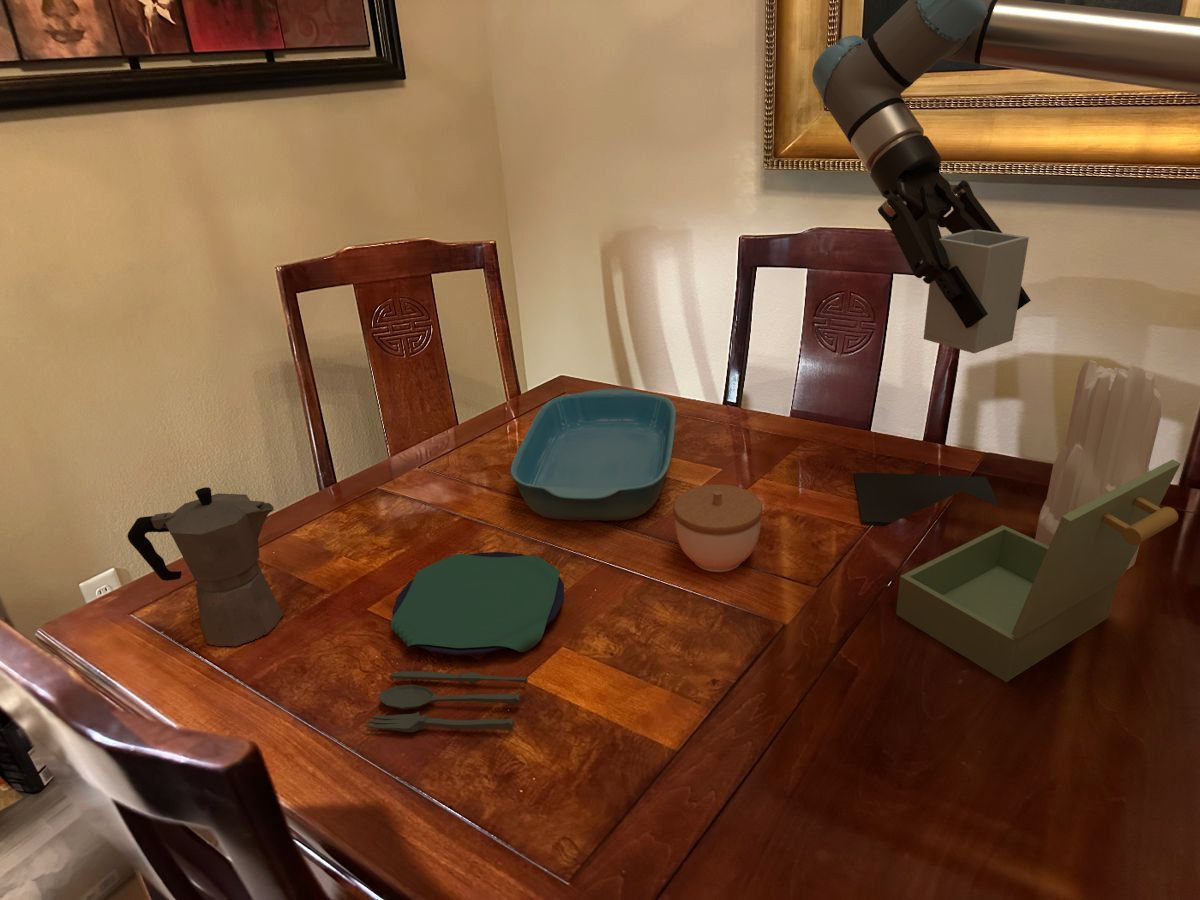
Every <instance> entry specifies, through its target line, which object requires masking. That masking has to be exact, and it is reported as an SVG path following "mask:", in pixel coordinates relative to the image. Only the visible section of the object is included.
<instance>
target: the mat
mask: <svg viewBox="0 0 1200 900" xmlns="http://www.w3.org/2000/svg"><path fill="white" fill-rule="evenodd" d="M853 480H854V487H855V493H856V499H857V500H856V501H857V506H858V513H859V521H860V524H861V525H862V526H880V527H881V526H884V527H886V526H888V525H890V524H893V523H895V522H897V521H899V520H902V519H904V518H906V517H908V516H911V515H913V514H915V513H917V512H920V511H922V510H924V509H927V508H928V507H930V506H933V505H935V504H937V503H939V502H942V501H944V500H946V499H948V498H950V497H953V496H955V495H957V494H959V493H961V492H963V493H966V494H968V495H970V496H972V497H975V498H978V499H980V500H982V501H983V502H987V503H988V504H990V505H993V506H996V507H997V508H1001V505H1000V504H999V501H998V500H997V497H996V494H995V492H994V491H993V488H992V487H991V484H990V482H989V479H988V477H987V476H976V475H975V476H973V475H972V476H971V475H950V474H949V475H947V474H945V475H944V474H919V473H915V474H913V473H892V472H891V473H890V472H889V473H886V472H861V471H860V472H859V471H854V472H853Z"/></svg>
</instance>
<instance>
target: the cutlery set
mask: <svg viewBox="0 0 1200 900" xmlns="http://www.w3.org/2000/svg"><path fill="white" fill-rule="evenodd" d="M560 576H561V571H560V569H558V568H557V567H555V566H554V565H552V564H551V563H549V562H548V561H546V560H545V559H543V558H541V557H540V556H538V555H533V554H527V555H526V554H523V553H518V552H517V553H516V552H507V551H488V552H475V553H470V554H465V553H456V554H453V555H451V556H448V557H445V558H443V559H439V560H438V561H436V562H433V563H431V564H429V565H427V566H426V567H423V568H421V569H418V570H417V572H416V574H415V575H414V577H413V578H412V579H411V580H410V581H408V582H407V584H406V585H405V586H404V587H403V589H402V590H401V591H400V592H399V594H397V596H396V599H395V602H394V606H393V608H392V612H391V613H392V619H391V621H390V628H391V631H392V632H393V633H394V634H395V635H396V636H398V637H399V639H400V640H401V641H402V642H403V643H404V644H405V646H407V648H410V647H411V646H414V647H415V646H416V647H418V648H420V649H422V650H425V651H426V652H429V653H433V654H442V655H449V656H455V657H458V656H459V657H460V656H461V657H462V656H472V655H487V654H490V653H493V652H497V651H502V650H504V649H505V650H506V649H508V648H509V649H512V650H514V651H517V652H519V653H527V652H528V651H530V650H531V649H533V648H534V647H536V646H537V645H538V643H539V642H540V641H541V640H542V638H543V635H544V633H545V629H546V627H547V626H549V624H551V623H552V622H553V621H554V620H555V619H556V618H557V616H558V614H559V612H560V610H561V608H562V606H563V604H564V602H565V584H564V582H563V580H562V578H561V577H560ZM526 651H527V652H526ZM389 677H390V679H392V680H393V679H395V680H426V681H428V680H429V681H452V682H453V681H454V682H456V681H457V682H458V683H459V686H462V684H463V683H465V682H467V683H470V684H475V683H478V682H481V681H489V682H490V681H491V682H493V681H494V682H495V681H497V682H498V681H502V682H503V681H504V682H515V683H524V685H527V684H528V681H529V680H528V676H527V675H525V676H499V675H487V674H486V675H485V674H480V673H478V672H475V671H469V672H468V673H465V672H464V671H463V670H461V671H460V673H459V674H457V673H451V672H450V673H449V672H444V671H443V672H441V671H422V670H421V671H420V670H419V671H417V670H416V671H415V670H403V671H398V672H394V673H391V674H390V676H389ZM521 698H522V697H521V693H474V694H461V695H460V694H459V695H456V694H455V695H444V696H443V695H441V696H438V695H437V694H436V693H435V692H434V691H433V690H432V689H430V688H429V687H427V686H422V685H415V684H404V685H395V686H392V687H390V688H386V689H385V690H382V691H380V693H379V696H378V697H377V700H379V701H380V702H382V703H383V704H384V705H385V706H388V707H390V708H394V709H398V710H413V709H419V708H421V707H423V706H426V705H428V704H430V703H436V702H438V703H439V702H479V703H480V702H481V703H499V704H510V705H520V702H521ZM365 726H366V728H369V729H374V730H386V731H387V730H388V731H390V730H391V731H395V732H401V733H402V732H403V733H415V732H417V731H418V732H419V731H423V730H426V727H435V728H436V727H437V728H444V729H452V730H499V731H500V730H501V731H513V730H514V727H515V723H514V719H513V718H504V719H503V718H485V719H448V718H440V717H439V718H438V717H437V718H436V717H428V715H427V714H423V715H420V712H419V711H416V712H415V713H404V714H392V715H372V714H371V715H370V719H368V723H367V724H366V725H365Z"/></svg>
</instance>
